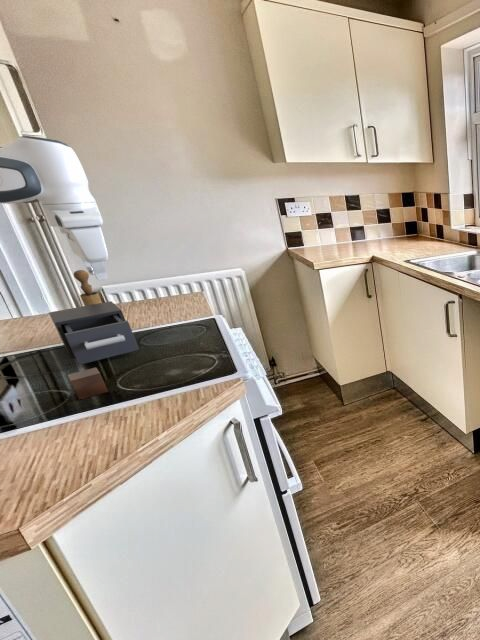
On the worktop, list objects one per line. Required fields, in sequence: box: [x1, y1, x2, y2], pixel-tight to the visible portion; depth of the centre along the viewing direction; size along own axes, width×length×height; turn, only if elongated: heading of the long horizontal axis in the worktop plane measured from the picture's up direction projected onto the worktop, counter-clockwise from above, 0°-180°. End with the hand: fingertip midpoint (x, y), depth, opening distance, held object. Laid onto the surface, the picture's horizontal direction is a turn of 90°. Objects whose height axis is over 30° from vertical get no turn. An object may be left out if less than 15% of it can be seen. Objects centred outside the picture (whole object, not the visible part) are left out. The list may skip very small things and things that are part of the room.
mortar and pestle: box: [73, 269, 103, 306], centre depth 123 cm, size 7×6×18 cm
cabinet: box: [48, 301, 127, 359], centre depth 113 cm, size 14×13×10 cm
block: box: [67, 367, 109, 401], centre depth 88 cm, size 4×4×4 cm
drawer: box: [63, 314, 140, 366], centre depth 105 cm, size 17×11×8 cm
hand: (98, 276), depth 100 cm, fingers open, 8 cm apart
